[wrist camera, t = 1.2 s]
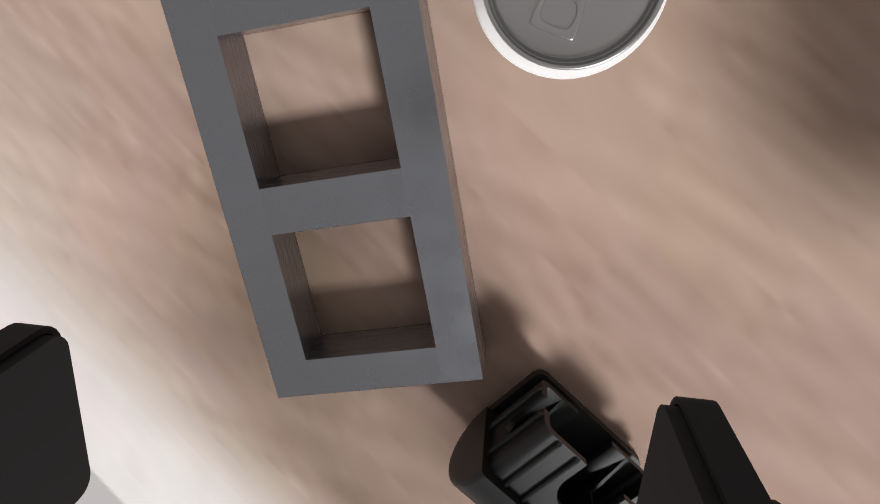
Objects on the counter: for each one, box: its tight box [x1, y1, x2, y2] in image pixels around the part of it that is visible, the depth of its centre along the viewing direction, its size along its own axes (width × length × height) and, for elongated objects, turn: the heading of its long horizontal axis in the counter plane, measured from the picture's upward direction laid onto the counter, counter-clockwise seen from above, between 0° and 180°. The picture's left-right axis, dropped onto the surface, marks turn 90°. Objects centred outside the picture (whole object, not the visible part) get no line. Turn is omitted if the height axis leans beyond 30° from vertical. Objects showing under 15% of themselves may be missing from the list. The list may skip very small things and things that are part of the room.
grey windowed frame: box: [161, 0, 485, 398], centre depth 33 cm, size 12×22×3 cm, turn 10°
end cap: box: [449, 370, 644, 504], centre depth 35 cm, size 10×7×7 cm
